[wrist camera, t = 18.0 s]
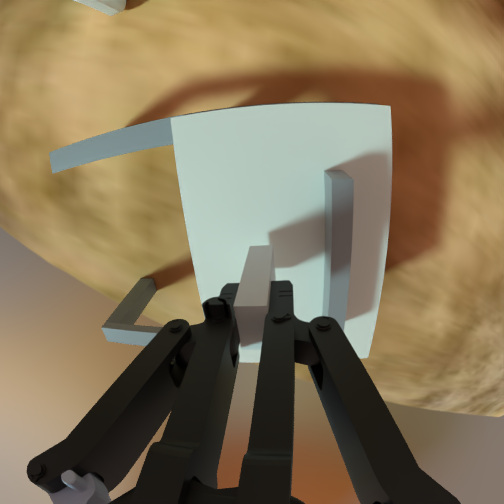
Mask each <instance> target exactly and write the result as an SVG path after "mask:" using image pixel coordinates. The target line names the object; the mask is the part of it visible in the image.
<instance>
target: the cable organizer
mask: <svg viewBox="0 0 504 504" xmlns="http://www.w3.org/2000/svg"><path fill="white" fill-rule="evenodd" d="M74 1H77V2H79V3H82V4H84V5H87V6H89V7H92V8H94V9H96V10H98V11H101V12H103V13H105V14H107V15H110V16H113V15H115V14H117V13H120V12H122V11H123V10H124V9H125V6H126V0H74Z"/></svg>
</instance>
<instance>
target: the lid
mask: <svg viewBox="0 0 504 504" xmlns="http://www.w3.org/2000/svg"><path fill="white" fill-rule="evenodd" d="M170 119H171V128H172V136H173V144H174V152H175V159H176V166H177V173H178V180H179V186H180V193H181V199H182V205H183V211H184V217H185V223H186V228H187V234H188V239H189V245H190V250H191V255H192V260H193V265H194V270H195V275H196V280H197V285H198V290H199V294H200V299H201V303H202V304H203V302H204V301H206V300H207V299H209V298H212V297H219V295H220V292H221V289H222V288H223V287H224V286H225V285H226V284H227V283H240V280H241V276H242V273H243V269H244V265H245V262H246V258H247V254H248V251H249V247H250V246H260V245H273V251H274V263H275V276H276V281H282V280H289V281H290V282H291V283H292V284H293V298H294V315H295V316H296V317H297V318H298V319H300V320H302V321H305V322H310V321H311V320H312V319H314V318H316V317H319V316H329V317H332V318H334V319H335V320H336V321H337V322H338V323H339V325H340V327H341V328H342V330H343V332H344V333H345V335H346V337H347V338H348V340H349V342H350V343H351V345H352V347H353V349H354V350H355V352H356V354H357V355H358V357H359V358H368V355H369V351H370V347H371V342H372V338H373V333H374V329H375V324H376V319H377V313H378V308H379V302H380V297H381V291H382V284H383V277H384V270H385V263H386V255H387V246H388V236H389V224H390V210H391V191H392V126H391V108H390V106H386V105H372V104H353V103H294V104H275V105H261V106H250V107H240V108H231V109H223V110H216V111H209V112H202V113H196V114H190V115H184V116H179V117H174V118H170ZM202 308H203V307H202ZM203 312H204V311H203ZM204 317H205V315H204ZM239 355H240V358H239V362H260V355H261V350H241V346H240V344H239Z"/></svg>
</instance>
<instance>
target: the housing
mask: <svg viewBox="0 0 504 504" xmlns="http://www.w3.org/2000/svg"><path fill="white" fill-rule="evenodd" d="M294 103H353V104H372V103H354V102H293V103H274V104H260V105H249V106H239V107H231V108H240V107H250V106H261V105H275V104H294ZM372 105H379V104H372ZM231 108H223V109H231ZM223 109H215V110H209V111H216V110H223ZM209 111H202V112H209ZM202 112H196V113H202ZM196 113H190V114H196ZM190 114H184V115H190ZM184 115H179V116H184ZM179 116H174V117H179ZM174 117H169V118H164V119H159V120H155V121H150V122H146V123H142V124H138V125H134V126H130V127H126V128H122V129H119V130H115V131H112V132H108V133H105V134H101V135H98V136H95V137H92V138H89V139H86V140H83V141H80V142H77V143H74V144H71V145H68V146H66V147H63V148H60V149H57V150H55V151H52V152H50V153H49V155H50V161H51V167H52V173H56V172H59V171H62V170H65V169H68V168H72V167H75V166H79V165H82V164H86V163H89V162H93V161H97V160H101V159H105V158H109V157H113V156H117V155H121V154H126V153H130V152H135V151H140V150H145V149H150V148H155V147H160V146H166V145H171V144H173V136H172V128H171V119H170V118H174ZM156 291H157V290H156V287H155V283H154V280H153V278H141V279H140V280H139V281H138V282H137V283H136V285H135V286H134V287H133V288H132V290H131V291H130V292H129V293H128V294H127V296H126V297H125V298H124V299H123V301H122V302H121V303H120V304H119V306H118V307H117V308H116V309H115V311H114V312H113V313H112V314H111V316H110V317H109V318H108V320H107V321H106V322H105V324H104V325H103V326H102V330H103V332H104V334H105V336H106V339H107V341H110V342H117V343H125V344H133V345H141V346H147V345H148V343H149V342H150V341H151V340H152V339H153V338H154V337H155V336H156V334H157V333H158V332H159V331H160V330H161V329H162V328H163V327H153V326H140V325H134V323H135V322H136V320H137V319H138V317H139V316H140V314H141V313H142V311H143V310H144V308H145V307H146V306H147V304H148V303H149V301H150V300H151V298H152V297H153V295H154V294H155V293H156Z"/></svg>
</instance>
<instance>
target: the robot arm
mask: <svg viewBox="0 0 504 504" xmlns="http://www.w3.org/2000/svg"><path fill="white" fill-rule="evenodd" d="M202 307H203V311H204V315H205V321H204V322H203V323H200V324H196V325H191V326H189V323H188V322H187V321H186V320H183V319H176V320H172V321H170V322H168V323H167V324H166V325H164V327H163V328H162V329H161V330H160V331H159V332H158V333H157V334H156V336H155V337H154V338H153V339H152V340H151V341H150V342H149V343H148V345H147V346H146V347H145V348H144V349H143V350H142V351H141V353H140V354H139V355H138V356H137V357H136V358H135V359H134V360H133V361H132V363H131V364H130V365H129V366H128V367H127V368H126V369H125V371H124V372H123V373H122V374H121V375H120V376H119V377H118V379H117V380H116V381H115V382H114V383H113V384H112V385H111V387H110V388H109V389H108V390H107V391H106V392H105V394H104V395H103V396H102V397H101V398H100V399H99V400H98V402H97V403H96V404H95V405H94V406H93V407H92V408H91V410H90V411H89V412H88V413H87V414H86V416H85V417H84V418H83V419H82V420H81V421H80V422H79V424H78V425H77V426H76V427H75V429H73V431H72V432H71V433H70V434H69V436H68V437H67V438H66V439H65V440H63V441H61V442H60V443H58V444H57V445H55V446H53V447H52V448H50V449H48V450H47V451H45V452H43V453H41V454H40V455H38V456H36V457H35V458H33V459H32V460H31V461H30V462H29V464H28V466H27V475H28V478H29V479H30V481H31V482H33V483H34V484H35V485H37V486H38V487H40V488H41V489H43V490H45V491H46V492H47V493H48V494H49V496H50V498H51V500H52V501H53V503H54V504H305V503H304V502H302V501H300V500H299V499H297V498H295V497H293V496H291V484H292V464H293V437H294V436H293V435H294V393H295V390H294V389H295V362H296V363H300V364H305V365H308V368H309V371H310V374H311V376H312V379H313V381H314V384H315V386H316V389H317V392H318V394H319V397H320V400H321V402H322V405H323V407H324V410H325V412H326V415H327V418H328V420H329V423H330V425H331V428H332V431H333V434H334V436H335V438H336V441H337V444H338V447H339V449H340V452H341V455H342V457H343V460H344V462H345V465H346V468H347V471H348V473H349V476H350V479H351V481H352V484H353V487H354V489H355V492H356V494H357V497H358V499H359V501H360V503H361V504H461V503H460V502H459V501H458V499H457V498H456V497H454V496H453V495H452V494H451V493H449V492H448V491H447V490H445V489H444V488H443V487H442V486H441V485H440V484H438V483H437V482H436V481H435V480H433V479H432V478H431V477H430V476H429V475H427V474H426V473H425V472H424V471H422V470H421V469H420V468H419V467H418V465H417V463H416V461H415V459H414V457H413V455H412V453H411V451H410V449H409V447H408V445H407V443H406V442H405V439H404V438H403V436H402V434H401V432H400V430H399V428H398V426H397V425H396V423H395V421H394V419H393V418H392V415H391V414H390V412H389V410H388V408H387V406H386V404H385V403H384V401H383V399H382V397H381V395H380V394H379V392H378V390H377V388H376V387H375V385H374V383H373V381H372V380H371V378H370V376H369V374H368V373H367V371H366V369H365V367H364V366H363V364H362V362H361V360H360V359H359V357H358V355H357V354H356V352H355V350H354V349H353V347H352V345H351V343H350V342H349V340H348V338H347V337H346V335H345V333H344V332H343V330H342V328H341V327H340V325H339V323H338V322H337V321H336V320H335V319H334V318H332V317H329V316H319V317H316V318H314V319H312V320H311V321H310V322H305V321H302V320H300V319H298V318H297V317H296V316H295V315H294V298H293V284H292V283H291V282H290V281H289V280H282V281H276V276H275V263H274V251H273V245H260V246H250V247H249V251H248V254H247V258H246V262H245V265H244V269H243V273H242V276H241V280H240V283H227V284H226V285H225V286H224V287H223V288H222V289H221V292H220V295H219V297H212V298H209V299H207V300H206V301H204V302H203V304H202ZM239 344H240V346H241V350H261V355H260V362H259V370H258V379H257V386H256V393H255V401H254V408H253V415H252V424H251V430H250V437H249V444H248V450H247V453H246V454H245V455H244V458H243V461H242V467H241V474H240V479H239V486H238V487H235V488H225V489H217V469H218V464H219V459H220V454H221V450H222V444H223V439H224V435H225V429H226V425H227V419H228V414H229V409H230V404H231V399H232V394H233V389H234V383H235V379H236V374H237V368H238V363H239V358H240V355H239ZM173 359H174V360H173ZM170 411H171V413H170ZM169 413H170V416H169V419H168V422H167V425H166V427H165V430H164V433H163V436H162V438H161V440H160V441H159V442H155V443H153V444H152V445H151V446H150V448H149V451H148V453H147V456H146V459H145V461H144V464H143V467H142V470H141V473H140V475H139V478H138V481H137V484H136V487H134V488H133V489H131V490H130V491H128V492H126V493H125V494H123V495H122V496H120V497H118V498H116V499H115V500H113V501H111V499H110V497H109V494H108V493H109V492H110V491H111V490H113V489H114V488H115V487H116V486H117V485H118V484H119V483H120V482H121V481H122V480H123V479H124V477H125V476H126V475H127V474H128V472H129V471H130V469H131V468H132V466H133V465H134V464H135V462H136V461H137V459H138V458H139V457H140V455H141V453H142V452H143V451H144V449H145V448H146V447H147V445H148V444H149V442H150V441H151V439H152V438H153V436H154V435H155V433H156V432H157V430H158V429H159V428H160V426H161V425H162V423H163V422H164V420H165V419H166V417H167V416H168V414H169Z"/></svg>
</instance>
